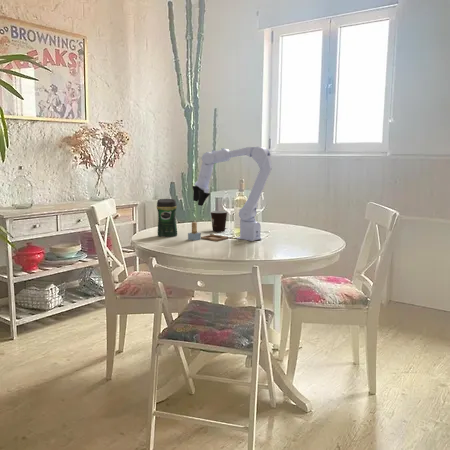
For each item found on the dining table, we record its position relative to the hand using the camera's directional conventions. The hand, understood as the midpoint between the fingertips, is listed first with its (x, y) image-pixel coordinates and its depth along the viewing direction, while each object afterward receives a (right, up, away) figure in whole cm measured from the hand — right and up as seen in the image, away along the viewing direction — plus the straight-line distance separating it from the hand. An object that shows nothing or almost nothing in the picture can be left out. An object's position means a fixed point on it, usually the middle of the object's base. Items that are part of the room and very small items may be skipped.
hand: (197, 203), depth 237 cm
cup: (-1, -18, -10) cm, 20 cm away
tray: (+8, -18, -8) cm, 21 cm away
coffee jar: (-15, -17, 0) cm, 22 cm away
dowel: (-1, -17, -10) cm, 20 cm away
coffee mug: (+10, -14, +18) cm, 25 cm away
